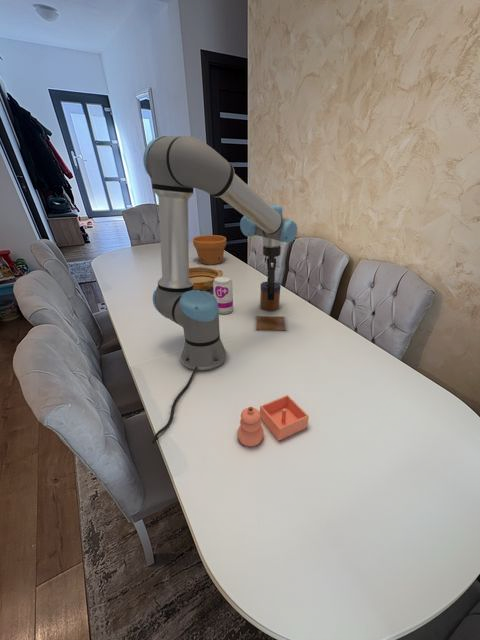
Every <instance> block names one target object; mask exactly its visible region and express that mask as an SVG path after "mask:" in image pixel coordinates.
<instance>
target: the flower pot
mask: <svg viewBox="0 0 480 640" xmlns="http://www.w3.org/2000/svg"><path fill="white" fill-rule="evenodd" d="M192 245H193V247H194V248H195V250H196V253H197V257H198V259H199V262H200V264H203V265H218V264H221V263H222V262H223V261H224V260H223V259H224V253H225V248H226V247H227V238H226V236H224V235H216V234H205V235H197V236H195V237H193V238H192Z"/></svg>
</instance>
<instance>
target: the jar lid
mask: <svg viewBox="0 0 480 640" xmlns="http://www.w3.org/2000/svg"><path fill="white" fill-rule="evenodd" d="M270 284H271V283H270ZM267 285H268V281H263V282H261V283H260V291H261V290H262V291H265V292H268V286H267ZM274 285H275V286H274V292H277V291H279V290H280V291H281V283H279V282H277V281H274Z"/></svg>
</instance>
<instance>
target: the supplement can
mask: <svg viewBox="0 0 480 640" xmlns="http://www.w3.org/2000/svg"><path fill="white" fill-rule="evenodd" d="M212 289H213V295H214V296H215V298H216V299H217V303H218V308H219V315H228V314H230V313H232V312H233V310H234V298H233V297H234V294H233V291H234V290H233V281H232V279H231V277H229V276H226V275H225V276H223V275H222V276H221V277H216V278H215V279H214V282H213V287H212Z"/></svg>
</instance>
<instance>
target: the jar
mask: <svg viewBox="0 0 480 640" xmlns="http://www.w3.org/2000/svg"><path fill="white" fill-rule="evenodd" d="M259 296H260V299H259V301H260V303H259V307H260V309H261V310H263V311H266V312H275V311H277V310H279V309H280V302H281V289H280V290H279V291H277V292H274V300H268V292H265V291H262V290H261V289H260V295H259Z"/></svg>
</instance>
